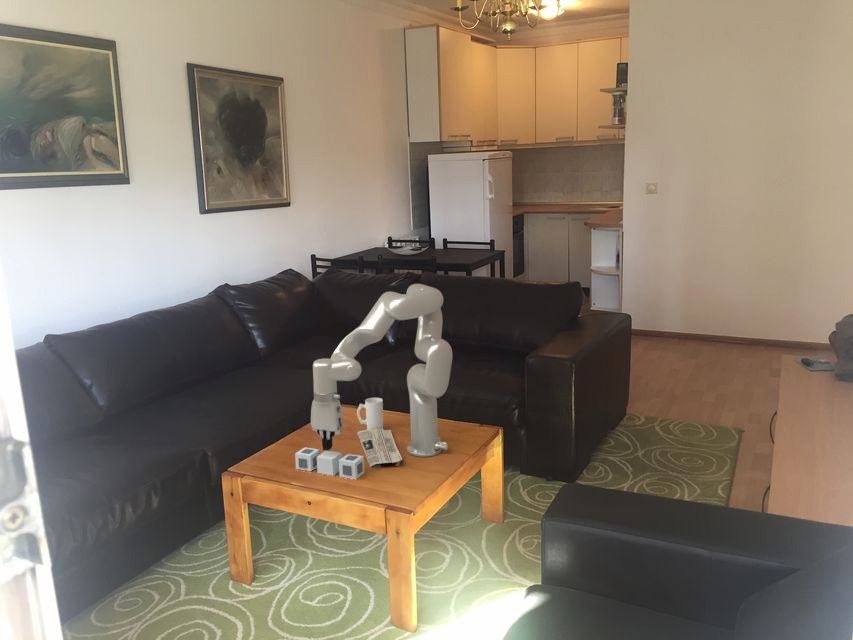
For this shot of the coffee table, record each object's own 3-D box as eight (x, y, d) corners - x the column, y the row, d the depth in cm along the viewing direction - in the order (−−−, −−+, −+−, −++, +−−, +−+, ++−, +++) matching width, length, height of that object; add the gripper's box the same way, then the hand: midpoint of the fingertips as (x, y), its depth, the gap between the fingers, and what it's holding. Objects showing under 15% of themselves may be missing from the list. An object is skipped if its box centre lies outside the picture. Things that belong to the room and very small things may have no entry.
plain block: (342, 469, 249) (341, 452, 247) (333, 476, 243) (332, 459, 242) (326, 467, 251) (325, 450, 250) (317, 473, 246) (316, 456, 244)
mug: (383, 426, 289) (381, 397, 287) (384, 432, 282) (383, 402, 280) (357, 428, 288) (356, 398, 285) (358, 434, 281) (357, 404, 279)
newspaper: (357, 436, 280) (357, 427, 280) (389, 433, 283) (389, 424, 282) (371, 472, 247) (370, 462, 246) (407, 468, 249) (407, 458, 249)
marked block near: (364, 473, 245) (364, 455, 244) (355, 480, 240) (355, 462, 238) (348, 470, 248) (347, 453, 246) (339, 477, 242) (338, 460, 241)
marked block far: (321, 466, 252) (320, 449, 251) (311, 473, 246) (310, 455, 245) (305, 463, 254) (304, 446, 253) (295, 470, 249) (294, 453, 247)
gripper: (351, 395, 242) (352, 448, 246) (312, 390, 248) (314, 442, 251) (339, 402, 235) (341, 456, 239) (299, 397, 241) (302, 449, 245)
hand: (327, 449), depth 245 cm, fingers closed
